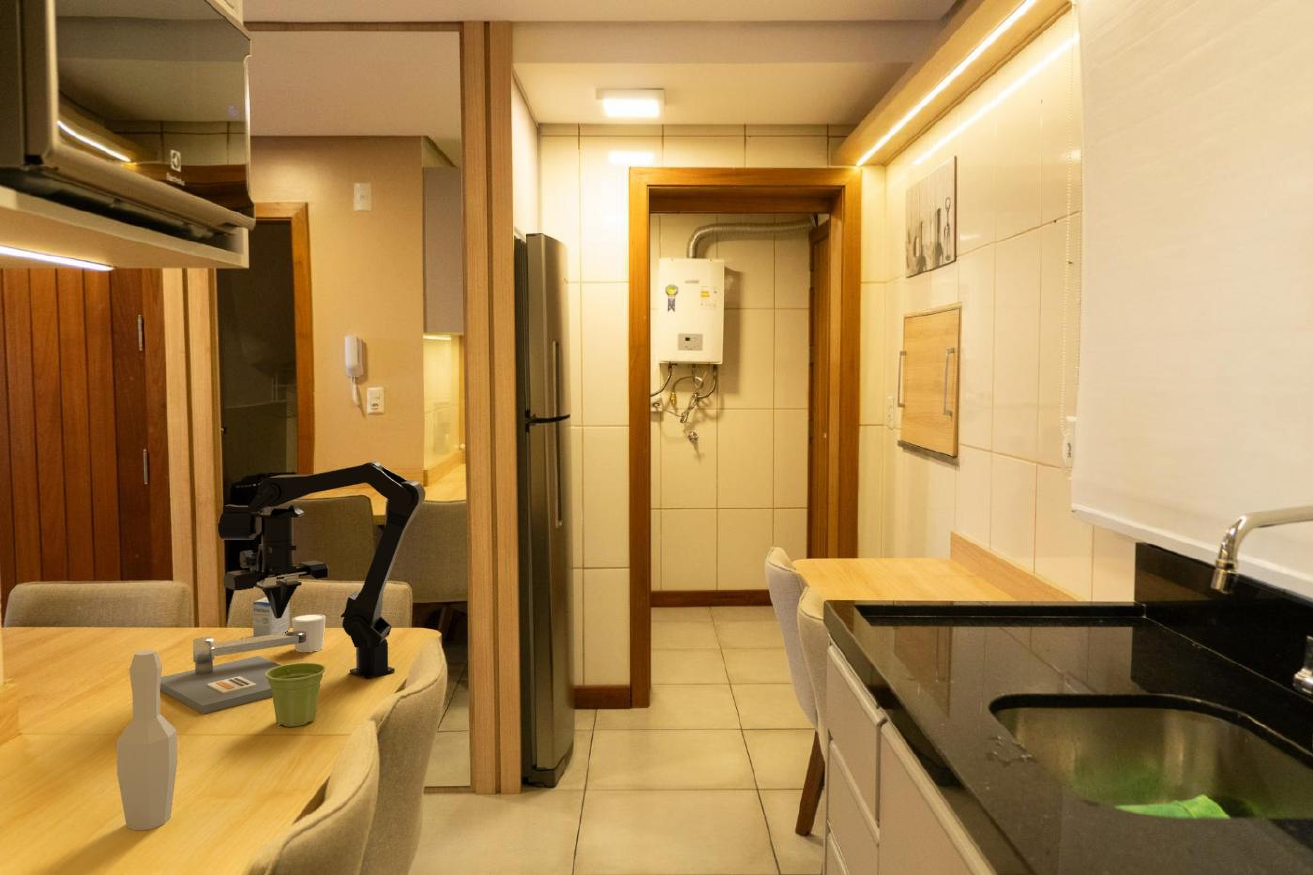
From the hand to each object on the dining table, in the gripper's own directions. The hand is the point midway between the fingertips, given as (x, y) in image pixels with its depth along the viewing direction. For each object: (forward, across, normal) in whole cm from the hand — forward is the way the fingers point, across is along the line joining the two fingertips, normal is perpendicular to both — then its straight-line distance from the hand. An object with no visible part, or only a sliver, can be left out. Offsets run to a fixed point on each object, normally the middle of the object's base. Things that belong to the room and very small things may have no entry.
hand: (278, 618), depth 174 cm
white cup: (+11, -12, -12) cm, 21 cm away
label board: (+11, +9, +1) cm, 14 cm away
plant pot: (+11, +10, +27) cm, 31 cm away
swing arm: (+7, +3, -5) cm, 9 cm away
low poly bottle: (+11, +39, +48) cm, 63 cm away
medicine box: (+11, -12, -29) cm, 34 cm away
